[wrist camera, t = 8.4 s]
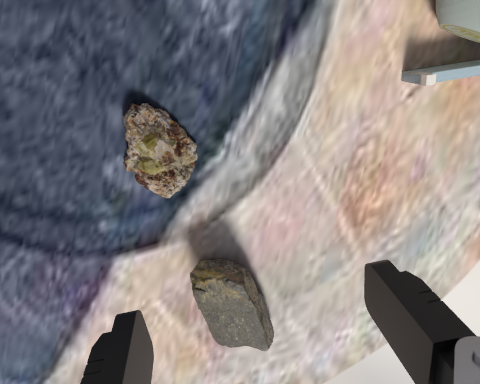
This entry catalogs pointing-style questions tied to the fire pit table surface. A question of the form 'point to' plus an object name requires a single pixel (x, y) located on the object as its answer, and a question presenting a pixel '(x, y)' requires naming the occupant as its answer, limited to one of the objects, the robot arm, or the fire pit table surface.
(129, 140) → the mineral rock
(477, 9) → the air freshener
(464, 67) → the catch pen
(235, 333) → the rock
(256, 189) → the fire pit table surface
